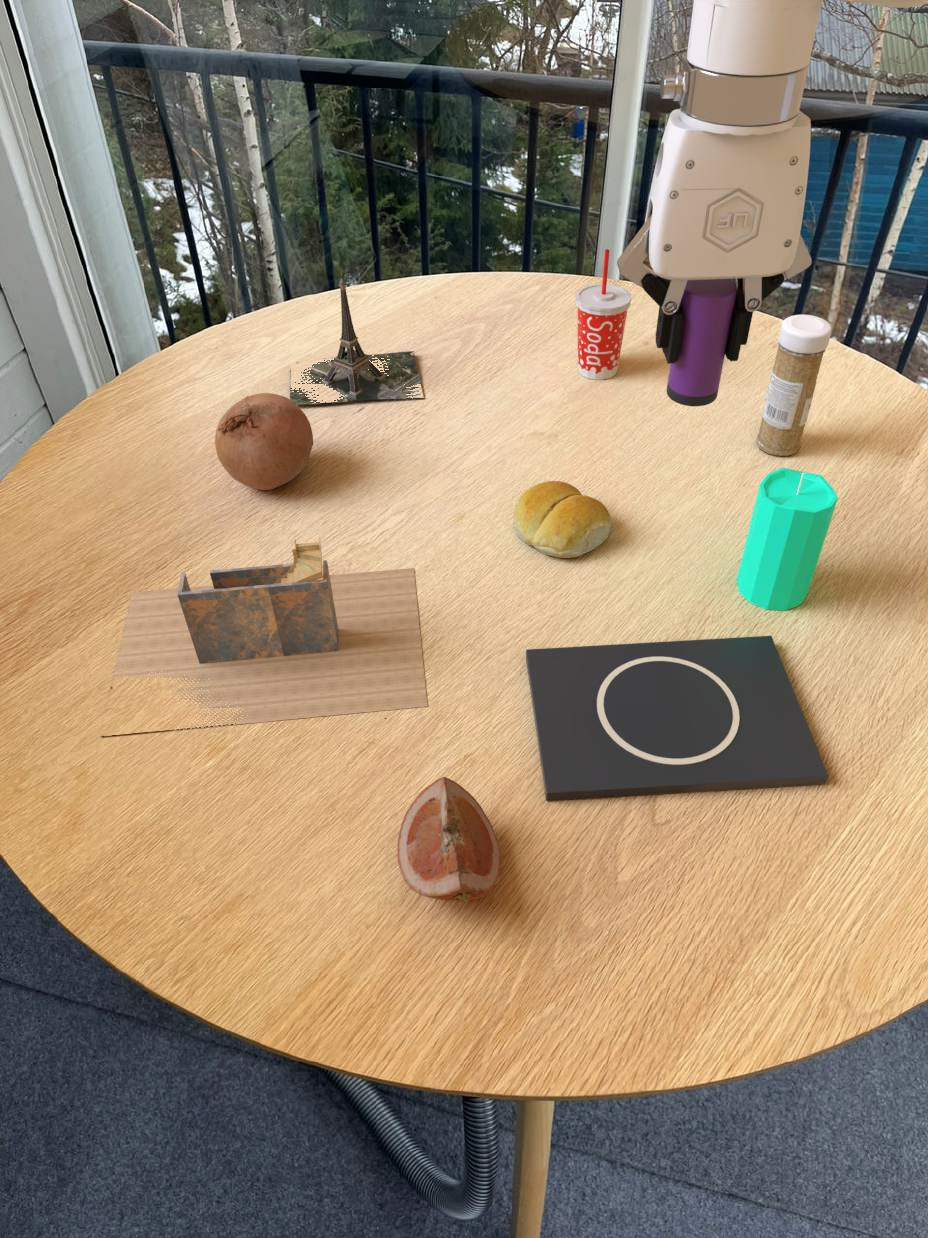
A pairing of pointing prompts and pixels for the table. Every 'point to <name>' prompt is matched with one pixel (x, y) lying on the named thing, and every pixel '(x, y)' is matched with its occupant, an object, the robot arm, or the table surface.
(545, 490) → the bread roll
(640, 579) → the table surface
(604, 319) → the beverage cup
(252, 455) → the onion
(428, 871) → the fruit slice
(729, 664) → the sketch board
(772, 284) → the robot arm
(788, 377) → the sprinkles bottle
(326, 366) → the eiffel tower figurine
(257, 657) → the ruin model on sheet
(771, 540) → the candle
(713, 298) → the dot marker
